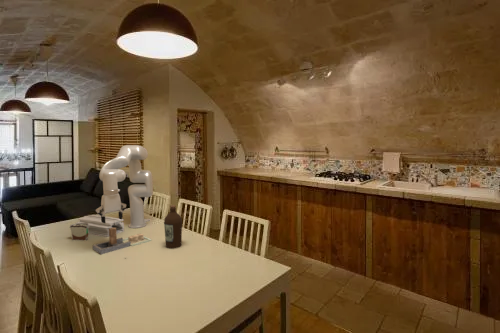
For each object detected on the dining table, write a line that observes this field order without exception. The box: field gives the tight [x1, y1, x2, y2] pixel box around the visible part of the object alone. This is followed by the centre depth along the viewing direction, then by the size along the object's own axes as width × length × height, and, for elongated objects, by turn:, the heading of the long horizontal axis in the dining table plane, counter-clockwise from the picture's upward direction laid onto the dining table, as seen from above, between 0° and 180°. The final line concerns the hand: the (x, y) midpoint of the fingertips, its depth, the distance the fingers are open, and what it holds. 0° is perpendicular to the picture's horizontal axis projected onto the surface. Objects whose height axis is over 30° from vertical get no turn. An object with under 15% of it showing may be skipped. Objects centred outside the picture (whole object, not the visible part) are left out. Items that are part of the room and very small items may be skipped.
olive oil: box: [163, 204, 183, 249], centre depth 172 cm, size 11×11×25 cm
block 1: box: [127, 234, 138, 244], centre depth 176 cm, size 4×4×4 cm
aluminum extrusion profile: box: [76, 214, 125, 238], centre depth 200 cm, size 14×31×10 cm, turn 67°
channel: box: [92, 237, 132, 255], centre depth 167 cm, size 17×11×4 cm
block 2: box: [134, 233, 145, 243], centre depth 179 cm, size 4×4×4 cm
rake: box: [108, 228, 118, 247], centre depth 166 cm, size 3×8×12 cm, turn 49°
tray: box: [123, 235, 153, 247], centre depth 178 cm, size 13×14×2 cm
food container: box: [69, 222, 89, 241], centre depth 185 cm, size 12×6×10 cm, turn 84°
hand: (112, 220), depth 166 cm, fingers open, 9 cm apart
